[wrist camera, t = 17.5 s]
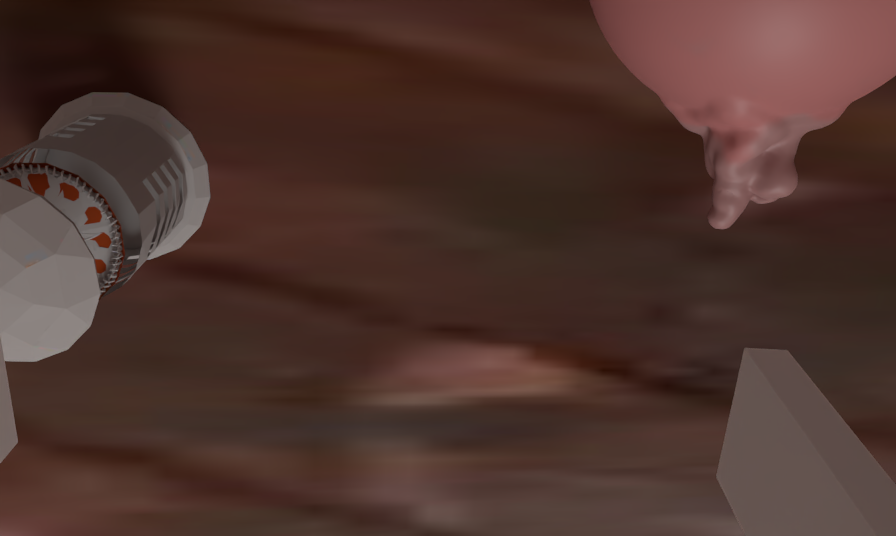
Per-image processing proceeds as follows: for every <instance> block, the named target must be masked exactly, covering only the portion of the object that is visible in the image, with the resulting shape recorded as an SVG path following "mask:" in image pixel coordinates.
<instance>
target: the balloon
mask: <svg viewBox="0 0 896 536" xmlns="http://www.w3.org/2000/svg"><path fill="white" fill-rule="evenodd" d="M590 4H591V7H592V10H593V12H594V15H595V18H596V20H597V22H598V25H599V27H600V29H601V31H602V33H603V35H604V36H605V38H606V40H607V42H608V43H609V45H610V46H611V48H612V49H613V51H614V52H615V54H616V55H617V56H618V58H619V59H620V60H621V61H622V63H623V64H624V65H625V66H626V67H627V68H628V69H629V70H630V71H631V73H632V74H634V75H635V76H636V77H637V78H638V79H639V80H640V81H641V82H642V83H643V84H645V85H646V86H647V87H648V88H650V89H651V90H652V91H654V92H655V93H656V94H657V95H658V96H659V97H660V99H661V100H662V102H663V104H664V105H665V106H666V107H667V109H668V110H669V111H670V112H671V113H672V114H673V115H674V116H675V117H676V118H677V120H678V121H679V122H680V123H681V125H682V126H683V127H685V128H686V129H688V130H689V131H692V132H694V133H697V134H699V135H701V136H702V138H703V142H704V153H705V164H706V168H707V171H708V173H709V175H710V176H711V177H712V178H713V179H714V183H713V189H712V207H711V209H710V211H709V213H708V221H709V223H710V225H711V226H712V227H714V228H716V229H726V228H728V227H730V226H731V225H732V224H733V223H734V222H735V221H736V220H737V218H738V217H739V216H740V214H741V213H742V212H743V211H744V209H745V208H746V206H747V204H748V202H749V201H750V200H753V201H754V202H756V203H759V204H764V203H769V202H773V201H775V200H777V199H778V198H781V197H786V196H788V195H790V194H791V193H792V192H793V191H794V190H795V188H796V186H797V184H798V175H797V172H796V168H795V165H794V157H795V154H796V151H797V148H798V144H799V141H800V139H801V137H802V136H803V135H804V134H805V133H807V132H809V131H811V130H815V129H819V128H823V127H825V126H828V125H830V124H831V123H833V122H834V121H836V120H837V119H838V118H839V117H840V116H841V115H842V113H843V112H844V110H845V109H846V108H847V107H848V105H849V104H851V103H852V102H853V101H855V100H857V99H859V98H861V97H863V96H865V95H866V94H868V93H870V92H872V91H873V90H875V89H876V88H878V87H880V86H881V85H883V84H884V83H886V82H887V81H889V80H890V79H891V78H893V77H894V76H895V75H896V0H590Z"/></svg>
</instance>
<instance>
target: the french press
mask: <svg viewBox="0 0 896 536" xmlns="http://www.w3.org/2000/svg"><path fill="white" fill-rule="evenodd" d="M26 148H28V149H27V150H26V151H25V152H24V153H23V154H22V155H21V156H20V157H18V158H17V159H16V160H15V161H14V162H13V163H12V164H10V163H11V162H12V161H13V160H14V159H15V158H16V157H17V156H18V155H19V154H20V153H21V152H22V151H24V150H25V149H26ZM31 148H33V149H32V150H31V151H30V152H29V153H28V154H27V155H26V156H25V159H24V162H23V163H19V161H20V159H21V158H22V157H23V156H24V155H25V154H26V153H27V152H28V151H29V150H30V149H31ZM35 149H36V151H35V155H34V159H33V162H32V163H29V160H30V157H31V155H32V152H33V151H34V150H35ZM19 151H20V152H19ZM17 152H19V153H18V154H16V153H17ZM15 154H16V155H15ZM14 155H15V156H14ZM13 156H14V157H13ZM12 157H13V158H12ZM10 158H12V159H11V160H10V161H9V162H8V163H7V164H5V163H6V162H7V161H8V160H9V159H10ZM4 164H5V165H4ZM9 164H10V165H9ZM3 165H4V166H3ZM2 166H3V167H2ZM1 167H2V168H1ZM209 200H210V188H209V178H208V167H207V163H206V161H205V159H204V157H203V155H202V153H201V151H200V149H199V147H198V145H197V143H196V141H195V140H194V138H193V136H192V134H191V132H190V131H189V130H188V129H187V128H186V127H184V126H183V125H182V124H181V123H180V122H179V121H178V120H177V119H176V118H175V117H173V116H172V115H171V114H170V113H169V112H168V111H167V110H166V109H165V108H163V107H162V106H159V105H157V104H155V103H152V102H150V101H147V100H145V99H142V98H140V97H137V96H135V95H132V94H130V93H113V92H92V93H89V94H87V95H85V96H82V97H80V98H78V99H75V100H73V101H71V102H68V103H66V104H64V105H61V107H60V108H59V109H58V110H57V111H56V112H55V114H54V115H53V116H52V117H51V118H50V119H49V121H48V122H47V123H46V124H45V125H44V127H43V128H42V129H41V131H40V135H39V139H38V140H37V141H34V142H32V143H30V144H28V145H26V146H25V147H23V148H20V149H18V150H17V151H15V152H13V153H11V154H9V155H7V156H5V157H4V158H2V159H0V337H1V343H2V349H3V355H4V361H30V362H35V361H38V360H41V359H43V358H46V357H49V356H52V355H54V354H57V353H60V352H62V351H65V350H68V349H69V348H70V347H71V346H72V345H73V344H74V343H75V342H76V340H77V339H78V338H79V337H80V336H81V335H82V334H83V333H84V332H85V331H86V330H87V329H88V328H89V327H90V326H91V323H92V320H93V317H94V313H95V310H96V307H97V304H98V300H100V298H102V297H104V296H106V295H107V294H109V293H111V292H113V291H114V290H116V289H118V288H120V287H122V286H123V284H124V283H125V282H126V281H127V280H128V279H129V278H130V277H131V276H132V275H133V274H134V273H135V271H136V270H137V269H139V267H140V266H141V265H142V264H143V263H144V262H145V261H146V260H147V259H153V258H155V257H158V256H160V255H163V254H166V253H168V252H171V251H173V250H176V249H178V248H180V247H181V246H182V245H183V244H184V243H185V242H186V241H187V240H188V239H189V238H190V237H191V236H192V235H193V234H194V233H195V231H196V230H197V229H198V228H199V227H200V226H201V223H202V220H203V217H204V214H205V211H206V208H207V206H208V203H209ZM127 259H130V260H127ZM137 261H138V263H137V264H135V265H133V266H131V267H129V268H121V267H122V265H127V264H133V263H135V262H137ZM135 267H136V269H135V270H133V271H131V272H129V273H128V274H126V275H124V276H122V277H119V274H120V273H125V272H127V271H129V270H131V269H133V268H135ZM131 274H132V275H131ZM129 275H131V276H130V277H129V278H128V279H126V280H124V281H122V282H120V283H118V284H116V285H114V284H115V283H116V282H118V281H120V280H122V279H124V278H126V277H128V276H129ZM113 285H114V286H113Z"/></svg>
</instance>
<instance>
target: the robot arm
mask: <svg viewBox="0 0 896 536" xmlns="http://www.w3.org/2000/svg"><path fill="white" fill-rule="evenodd" d="M17 443H18V439H17V433H16V427H15V421H14V415H13V409H12V403H11V397H10V391H9V385H8V379H7V373H6V367H5V361H4V355H3V349H2V343H1V337H0V463H1V462H2V461H3V459H4V458H5V457H6V456H7V455H8V453H9V452H10V451H11V450H12V449H13V447H14V446H15V445H16V444H17ZM716 477H717V479H718V481H719V483H720V486H721V488H722V490H723V492H724V494H725V496H726V498H727V500H728V502H729V504H730V506H731V508H732V510H733V512H734V514H735V516H736V518H737V520H738V522H739V524H740V527H741V529H742V531H743V533H744V535H745V536H896V485H895V484H894V482H893V481H892V480H891V479H890V477H889V476H888V475H887V474H886V472H885V471H884V470H883V469H882V467H881V466H880V465H879V464H878V462H877V461H876V460H875V459H874V457H873V456H872V455H871V454H870V452H869V451H868V450H867V449H866V447H865V446H864V445H863V444H862V442H861V441H860V440H859V439H858V437H857V436H856V435H855V434H854V433H853V431H852V430H851V429H850V428H849V426H848V425H847V424H846V423H845V421H844V420H843V419H842V418H841V416H840V415H839V414H838V413H837V411H836V410H835V409H834V408H833V406H832V405H831V404H830V403H829V401H828V400H827V399H826V398H825V396H824V395H823V394H822V393H821V391H820V390H819V389H818V388H817V386H816V385H815V384H814V383H813V381H812V380H811V379H810V378H809V376H808V375H807V374H806V373H805V372H804V370H803V369H802V368H801V367H800V365H799V364H798V363H797V362H796V360H795V359H794V358H793V357H792V355H791V354H790V353H789V352H788V350H775V349H756V348H744V353H743V357H742V362H741V366H740V371H739V375H738V380H737V384H736V389H735V393H734V398H733V403H732V407H731V412H730V416H729V421H728V425H727V430H726V434H725V439H724V443H723V448H722V452H721V457H720V461H719V466H718V471H717V475H716Z"/></svg>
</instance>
